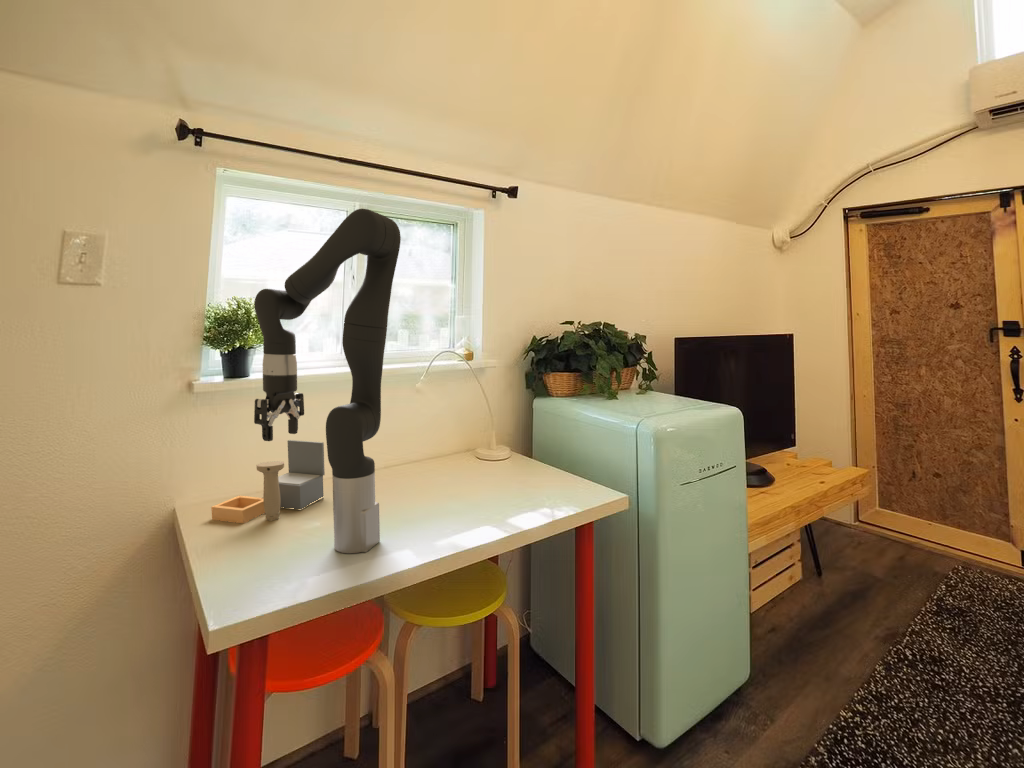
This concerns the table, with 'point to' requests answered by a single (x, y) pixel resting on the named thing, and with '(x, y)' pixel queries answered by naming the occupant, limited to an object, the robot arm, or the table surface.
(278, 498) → the handle
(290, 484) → the chair with orange tray
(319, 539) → the table surface
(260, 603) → the table surface
